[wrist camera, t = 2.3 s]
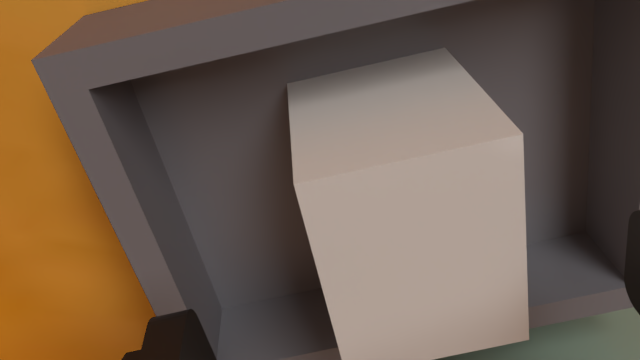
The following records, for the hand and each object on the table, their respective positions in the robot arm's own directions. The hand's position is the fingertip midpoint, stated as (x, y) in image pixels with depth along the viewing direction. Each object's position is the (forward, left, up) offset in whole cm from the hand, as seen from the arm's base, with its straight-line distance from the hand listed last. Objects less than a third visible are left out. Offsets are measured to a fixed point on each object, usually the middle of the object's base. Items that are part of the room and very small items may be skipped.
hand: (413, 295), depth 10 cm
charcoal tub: (0, 0, -7) cm, 7 cm away
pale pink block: (0, 0, -6) cm, 6 cm away
